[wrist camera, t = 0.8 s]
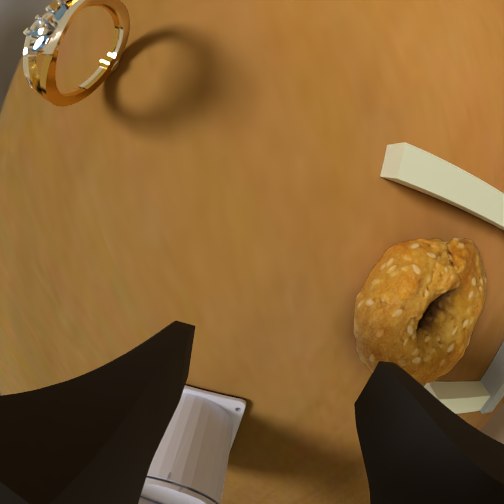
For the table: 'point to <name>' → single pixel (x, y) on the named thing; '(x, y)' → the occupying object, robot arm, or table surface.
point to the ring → (49, 38)
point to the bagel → (420, 306)
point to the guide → (478, 204)
